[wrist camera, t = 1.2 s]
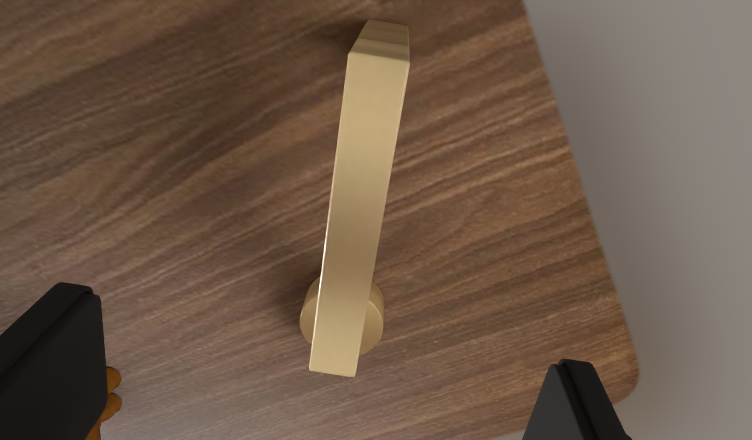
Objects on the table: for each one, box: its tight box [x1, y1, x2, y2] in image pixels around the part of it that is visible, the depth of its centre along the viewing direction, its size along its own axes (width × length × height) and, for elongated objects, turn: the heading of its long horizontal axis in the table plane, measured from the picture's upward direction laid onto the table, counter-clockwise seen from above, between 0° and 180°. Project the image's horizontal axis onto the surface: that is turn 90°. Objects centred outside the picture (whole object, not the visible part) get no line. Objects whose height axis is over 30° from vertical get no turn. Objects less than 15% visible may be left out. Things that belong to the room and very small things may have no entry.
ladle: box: [300, 19, 410, 377], centre depth 23 cm, size 17×4×9 cm, turn 171°
